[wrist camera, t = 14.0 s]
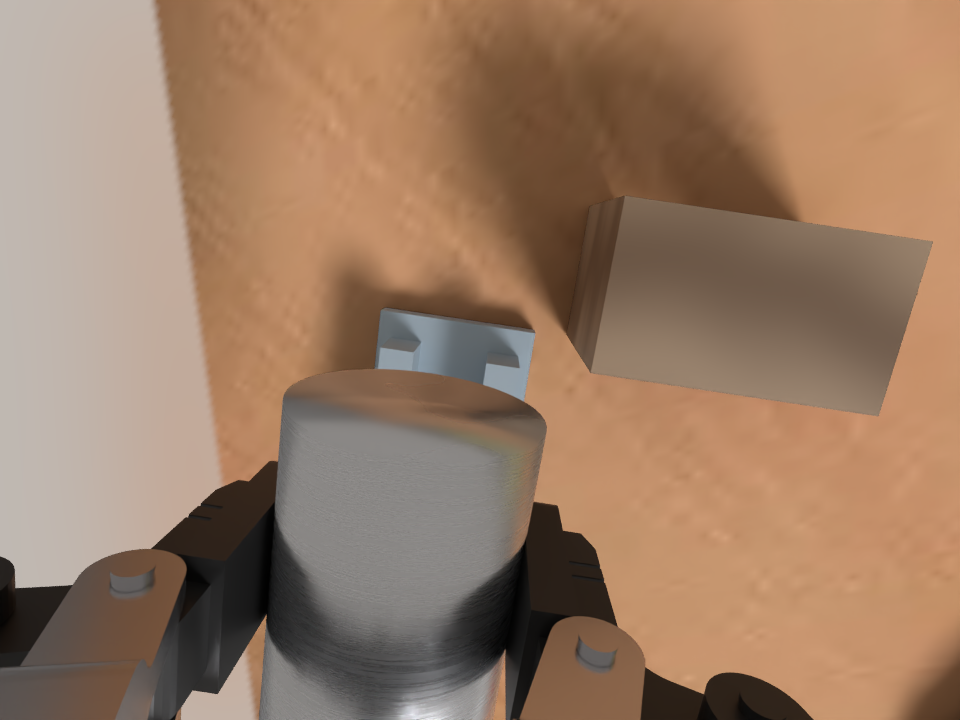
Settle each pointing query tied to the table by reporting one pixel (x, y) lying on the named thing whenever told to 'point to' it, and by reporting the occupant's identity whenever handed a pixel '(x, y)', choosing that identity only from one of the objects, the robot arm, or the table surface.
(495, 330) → the cradle
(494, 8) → the table surface
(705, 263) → the brown bridge block
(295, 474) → the axle
